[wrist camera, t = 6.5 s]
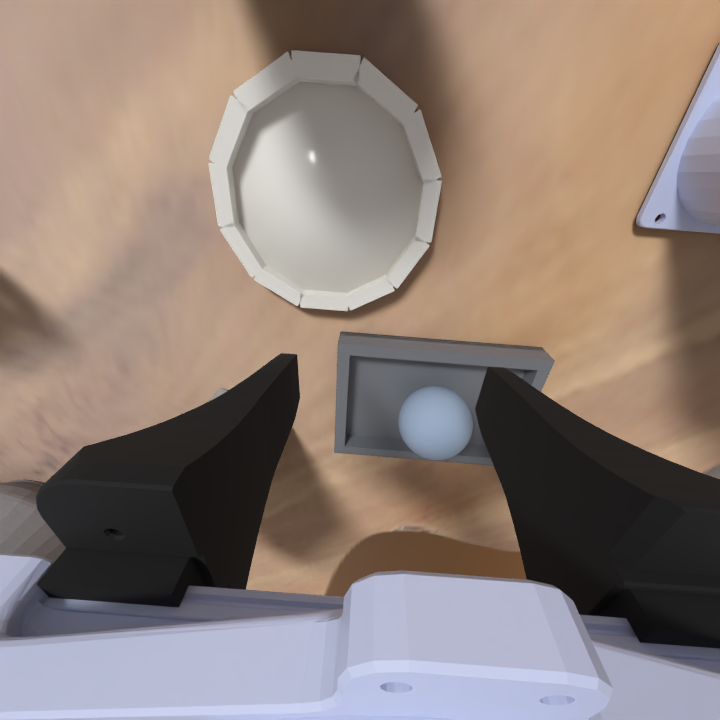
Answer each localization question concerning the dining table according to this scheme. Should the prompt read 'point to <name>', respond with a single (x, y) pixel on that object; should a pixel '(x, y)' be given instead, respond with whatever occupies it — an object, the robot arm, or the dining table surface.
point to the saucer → (325, 180)
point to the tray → (416, 386)
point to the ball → (435, 423)
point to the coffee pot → (25, 522)
